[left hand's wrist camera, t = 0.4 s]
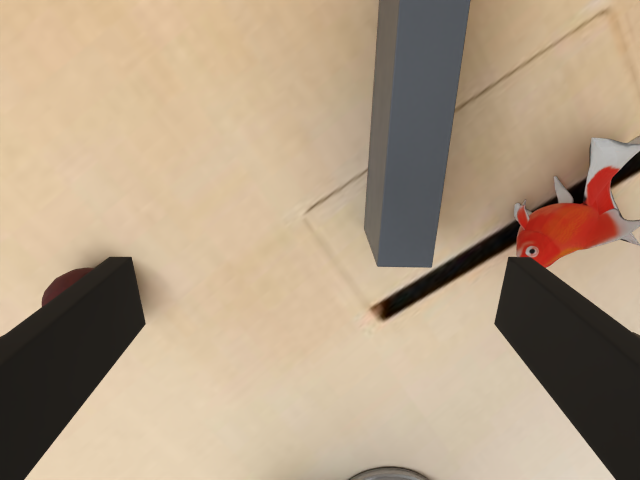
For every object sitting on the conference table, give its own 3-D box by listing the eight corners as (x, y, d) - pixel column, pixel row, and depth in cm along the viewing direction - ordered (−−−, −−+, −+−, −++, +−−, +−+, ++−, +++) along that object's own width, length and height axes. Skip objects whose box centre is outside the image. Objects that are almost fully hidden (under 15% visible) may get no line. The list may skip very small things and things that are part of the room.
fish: (469, 183, 31) (599, 225, 23) (579, 92, 34) (723, 103, 27) (480, 266, 37) (584, 319, 30) (571, 182, 41) (685, 211, 33)
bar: (406, 230, 37) (432, 267, 29) (363, 229, 37) (377, 267, 29) (436, -38, 29) (484, -97, 20) (381, -40, 29) (407, -99, 20)
